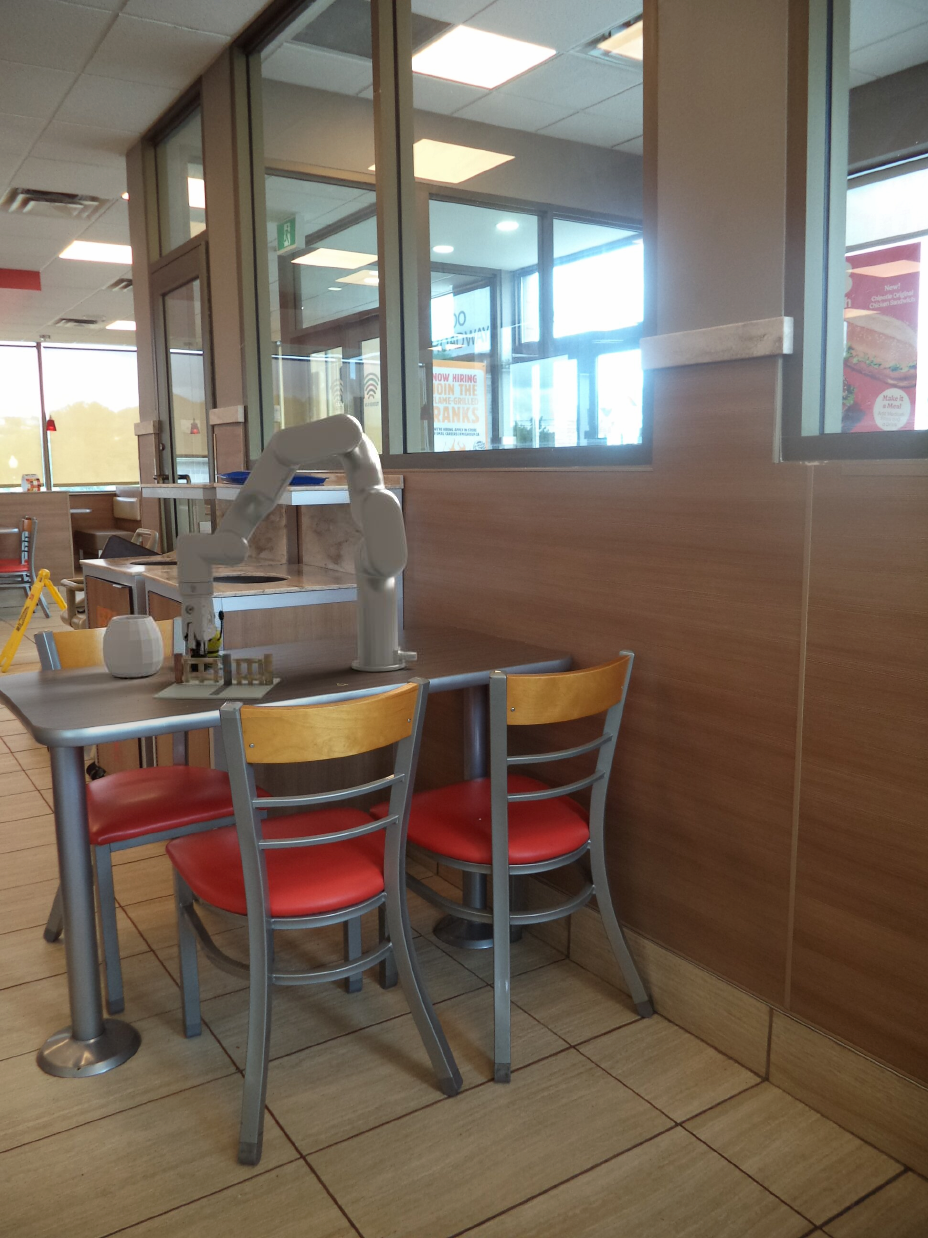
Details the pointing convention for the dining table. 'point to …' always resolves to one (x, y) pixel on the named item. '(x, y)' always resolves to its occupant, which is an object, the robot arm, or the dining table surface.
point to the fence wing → (201, 677)
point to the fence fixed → (248, 670)
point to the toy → (215, 642)
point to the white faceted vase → (132, 646)
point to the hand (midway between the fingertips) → (199, 671)
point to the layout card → (215, 690)
